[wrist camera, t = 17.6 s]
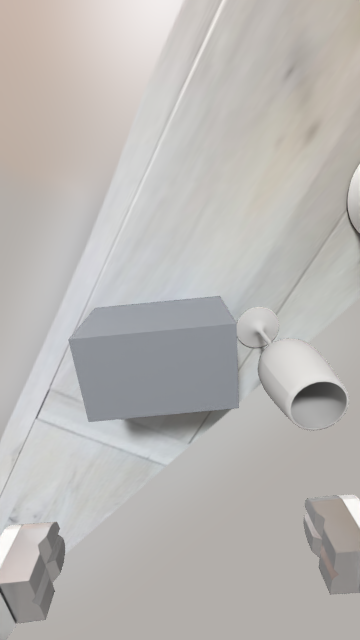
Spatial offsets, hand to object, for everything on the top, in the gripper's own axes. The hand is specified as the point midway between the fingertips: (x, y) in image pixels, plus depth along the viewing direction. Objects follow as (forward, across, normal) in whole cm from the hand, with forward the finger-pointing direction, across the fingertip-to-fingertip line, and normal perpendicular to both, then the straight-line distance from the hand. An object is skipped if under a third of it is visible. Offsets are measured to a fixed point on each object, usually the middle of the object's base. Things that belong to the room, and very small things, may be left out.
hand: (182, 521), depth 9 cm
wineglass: (+37, -13, +9) cm, 41 cm away
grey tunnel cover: (+37, +3, +9) cm, 38 cm away
